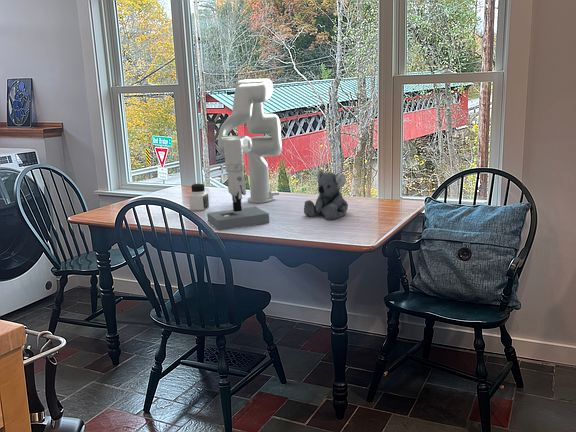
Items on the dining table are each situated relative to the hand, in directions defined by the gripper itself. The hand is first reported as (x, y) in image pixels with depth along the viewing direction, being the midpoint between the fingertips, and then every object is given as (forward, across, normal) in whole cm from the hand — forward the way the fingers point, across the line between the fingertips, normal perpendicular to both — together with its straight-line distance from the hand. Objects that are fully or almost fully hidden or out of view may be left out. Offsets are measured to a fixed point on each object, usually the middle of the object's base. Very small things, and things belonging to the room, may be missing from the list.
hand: (237, 210), depth 242 cm
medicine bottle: (+5, +36, +7) cm, 37 cm away
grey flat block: (+5, 0, 0) cm, 5 cm away
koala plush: (+5, -9, -39) cm, 40 cm away
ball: (+3, 0, +5) cm, 6 cm away
